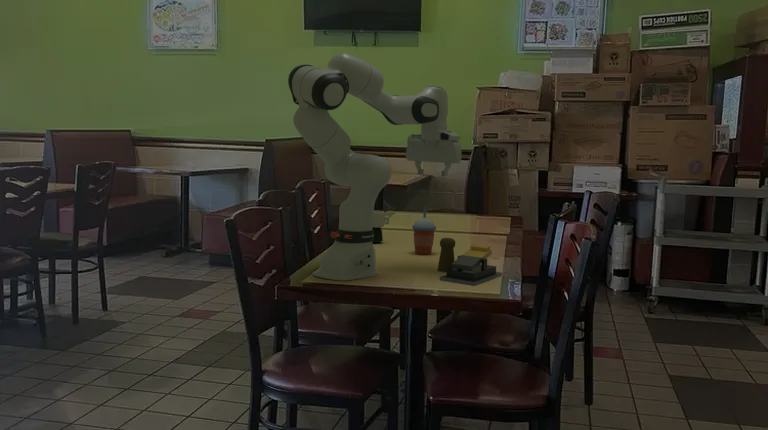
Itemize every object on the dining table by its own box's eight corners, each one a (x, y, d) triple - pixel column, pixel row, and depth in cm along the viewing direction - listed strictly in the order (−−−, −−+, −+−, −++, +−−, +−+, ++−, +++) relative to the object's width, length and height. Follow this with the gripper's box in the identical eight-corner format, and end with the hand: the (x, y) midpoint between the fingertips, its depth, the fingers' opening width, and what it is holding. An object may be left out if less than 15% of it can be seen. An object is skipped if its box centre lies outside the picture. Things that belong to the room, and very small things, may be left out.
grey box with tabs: (474, 285, 215) (475, 264, 214) (439, 279, 222) (440, 259, 221) (501, 275, 231) (502, 255, 231) (469, 270, 238) (470, 251, 237)
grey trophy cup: (388, 241, 294) (389, 210, 293) (387, 244, 287) (388, 212, 286) (362, 240, 295) (363, 209, 294) (361, 243, 288) (362, 211, 286)
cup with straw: (433, 256, 264) (435, 208, 262) (409, 254, 265) (411, 207, 263) (436, 252, 273) (438, 206, 270) (413, 250, 274) (415, 204, 272)
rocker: (472, 271, 219) (471, 262, 218) (452, 267, 222) (451, 259, 222) (491, 254, 229) (491, 246, 228) (472, 251, 233) (471, 243, 232)
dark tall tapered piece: (437, 268, 240) (438, 236, 239) (454, 269, 240) (456, 237, 239) (437, 271, 234) (439, 239, 233) (456, 272, 234) (457, 239, 233)
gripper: (403, 133, 243) (401, 173, 245) (455, 135, 232) (454, 177, 234) (412, 134, 249) (411, 173, 250) (464, 135, 238) (462, 176, 239)
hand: (432, 175), depth 242 cm, fingers open, 8 cm apart
